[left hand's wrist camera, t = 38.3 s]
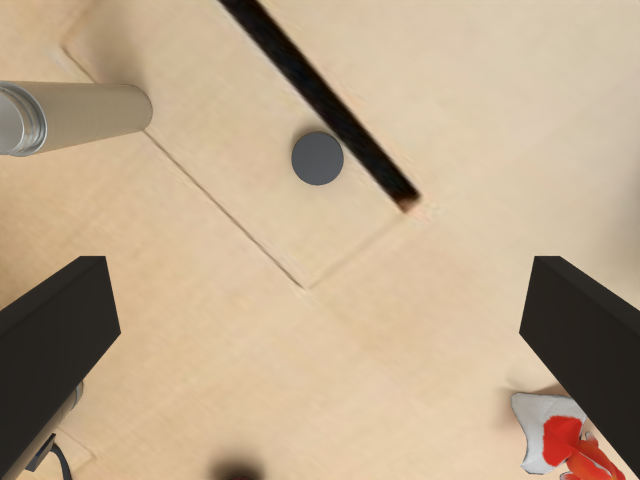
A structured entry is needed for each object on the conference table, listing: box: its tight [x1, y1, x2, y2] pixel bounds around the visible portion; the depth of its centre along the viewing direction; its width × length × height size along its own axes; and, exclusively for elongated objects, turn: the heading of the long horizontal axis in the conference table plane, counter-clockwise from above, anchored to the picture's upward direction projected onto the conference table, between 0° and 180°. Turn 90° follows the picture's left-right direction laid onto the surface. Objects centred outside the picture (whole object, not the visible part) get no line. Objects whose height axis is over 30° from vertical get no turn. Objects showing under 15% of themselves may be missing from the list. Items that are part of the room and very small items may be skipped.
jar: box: [0, 81, 152, 157], centre depth 29 cm, size 4×4×16 cm
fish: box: [511, 393, 625, 480], centre depth 46 cm, size 11×16×10 cm
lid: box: [292, 132, 343, 185], centre depth 38 cm, size 5×5×2 cm
